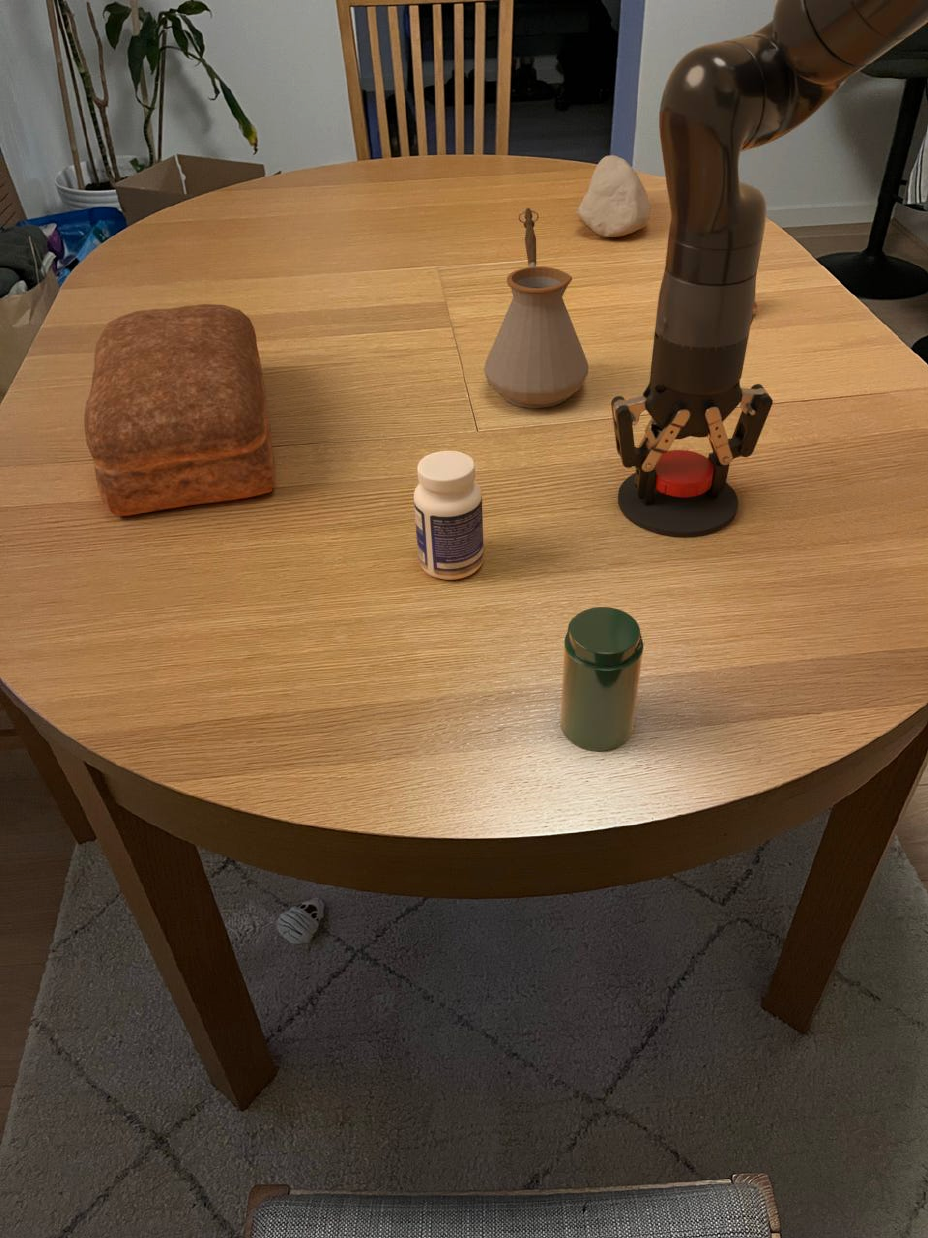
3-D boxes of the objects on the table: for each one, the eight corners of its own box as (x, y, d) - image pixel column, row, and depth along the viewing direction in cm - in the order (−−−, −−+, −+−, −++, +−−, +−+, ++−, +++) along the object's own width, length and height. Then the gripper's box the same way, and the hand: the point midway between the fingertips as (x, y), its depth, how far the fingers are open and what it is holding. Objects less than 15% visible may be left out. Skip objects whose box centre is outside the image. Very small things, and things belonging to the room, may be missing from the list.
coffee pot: (593, 415, 100) (602, 276, 90) (486, 419, 100) (483, 281, 90) (573, 329, 116) (578, 203, 106) (480, 333, 116) (478, 207, 106)
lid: (641, 489, 85) (642, 475, 84) (659, 458, 88) (661, 444, 87) (703, 503, 83) (705, 488, 82) (718, 470, 86) (721, 456, 86)
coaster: (747, 483, 89) (749, 478, 89) (723, 548, 82) (724, 542, 81) (636, 461, 93) (636, 456, 92) (602, 521, 85) (603, 516, 85)
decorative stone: (660, 224, 134) (625, 161, 130) (601, 263, 139) (565, 204, 134) (657, 195, 148) (625, 137, 144) (602, 231, 152) (570, 177, 148)
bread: (264, 365, 111) (246, 270, 103) (282, 501, 89) (260, 393, 82) (118, 384, 109) (89, 288, 101) (100, 528, 87) (60, 419, 80)
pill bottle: (496, 554, 82) (494, 457, 75) (461, 590, 79) (457, 491, 72) (441, 535, 84) (435, 439, 78) (405, 569, 81) (396, 472, 74)
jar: (635, 702, 68) (647, 608, 62) (629, 756, 65) (642, 661, 58) (565, 693, 69) (570, 599, 63) (555, 745, 65) (560, 651, 59)
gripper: (772, 297, 79) (739, 468, 90) (605, 310, 78) (593, 481, 89) (806, 336, 73) (766, 512, 84) (626, 350, 72) (611, 526, 84)
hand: (677, 495), depth 87 cm, fingers closed on lid, 5 cm apart
